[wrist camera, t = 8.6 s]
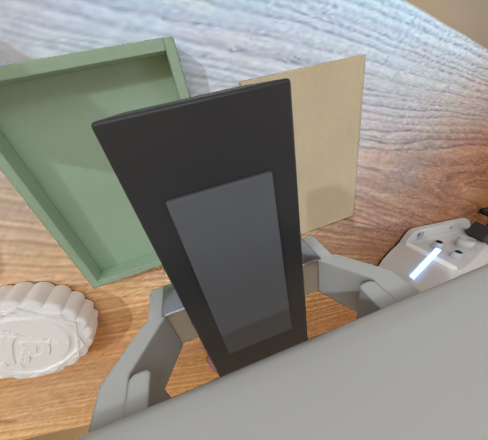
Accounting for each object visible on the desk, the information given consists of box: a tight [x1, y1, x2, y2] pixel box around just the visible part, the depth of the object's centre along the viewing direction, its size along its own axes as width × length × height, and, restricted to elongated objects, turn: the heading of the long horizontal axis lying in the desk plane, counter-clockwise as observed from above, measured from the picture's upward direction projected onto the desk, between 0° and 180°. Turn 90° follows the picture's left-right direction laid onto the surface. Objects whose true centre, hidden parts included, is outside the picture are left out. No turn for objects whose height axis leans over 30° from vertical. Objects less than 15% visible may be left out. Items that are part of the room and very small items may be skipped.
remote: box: [91, 78, 308, 377], centre depth 10 cm, size 4×14×4 cm, turn 11°
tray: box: [0, 36, 190, 288], centre depth 21 cm, size 16×20×2 cm
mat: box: [240, 54, 365, 234], centre depth 28 cm, size 14×20×1 cm
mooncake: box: [0, 282, 98, 379], centre depth 25 cm, size 12×12×4 cm
